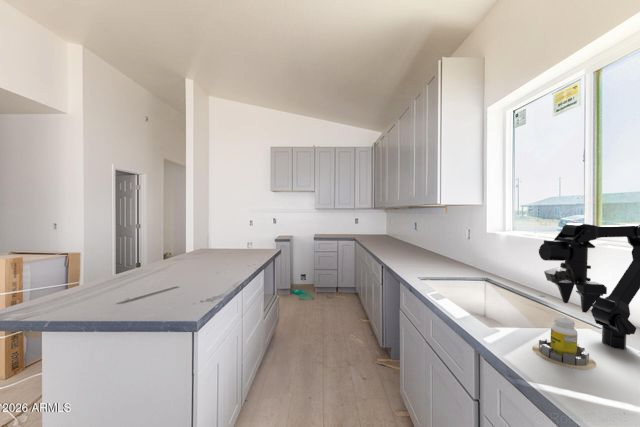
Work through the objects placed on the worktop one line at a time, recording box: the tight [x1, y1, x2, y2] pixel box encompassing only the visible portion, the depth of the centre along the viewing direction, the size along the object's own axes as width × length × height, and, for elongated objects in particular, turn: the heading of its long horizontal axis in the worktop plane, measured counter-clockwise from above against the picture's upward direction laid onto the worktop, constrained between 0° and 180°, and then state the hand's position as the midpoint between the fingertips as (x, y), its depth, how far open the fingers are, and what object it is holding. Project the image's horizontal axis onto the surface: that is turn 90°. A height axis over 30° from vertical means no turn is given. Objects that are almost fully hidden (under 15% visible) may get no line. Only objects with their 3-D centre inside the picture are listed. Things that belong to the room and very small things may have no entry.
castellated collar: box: [538, 337, 590, 366], centre depth 89 cm, size 11×11×3 cm
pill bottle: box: [550, 316, 578, 357], centre depth 89 cm, size 6×6×11 cm
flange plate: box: [532, 343, 597, 370], centre depth 89 cm, size 15×15×1 cm
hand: (574, 307), depth 98 cm, fingers open, 9 cm apart
